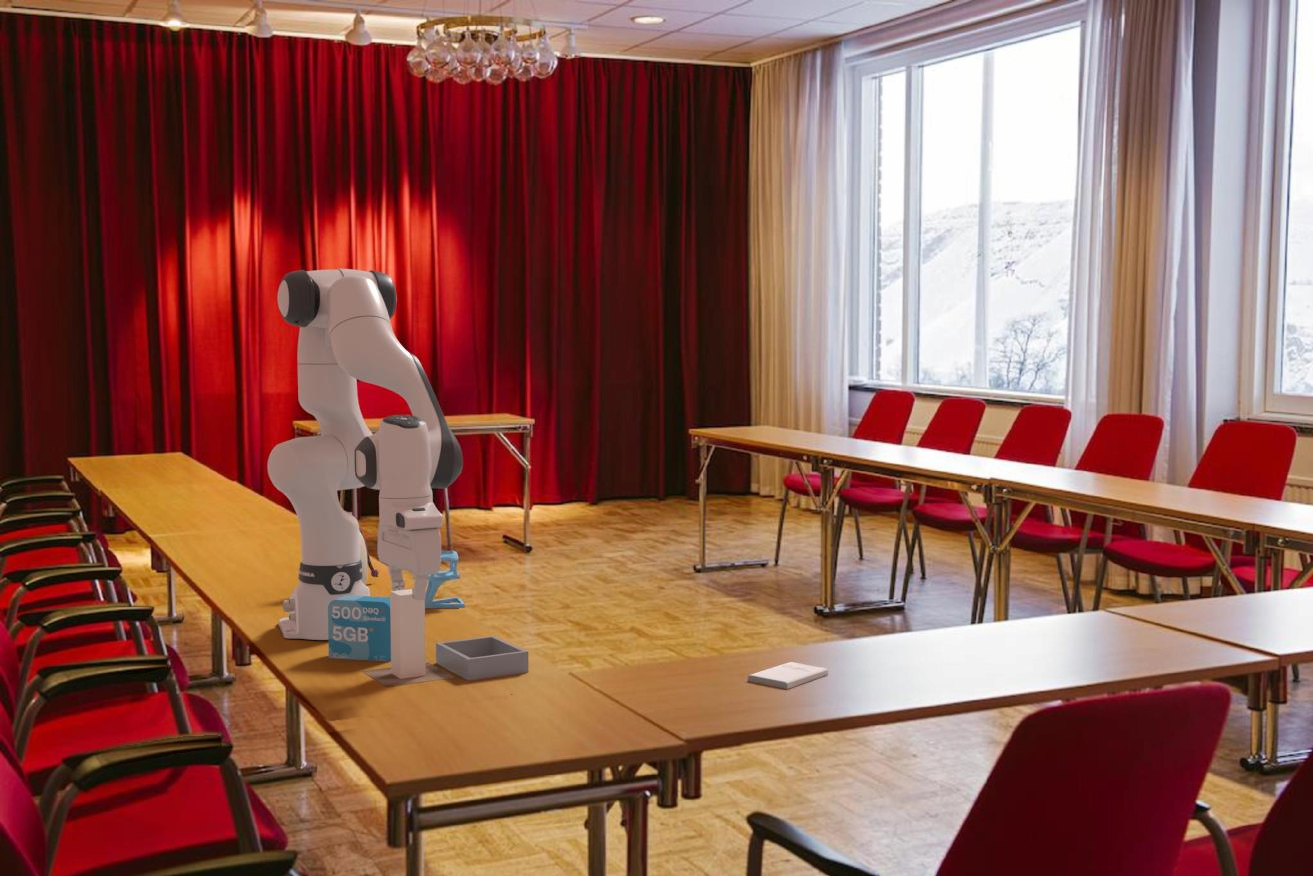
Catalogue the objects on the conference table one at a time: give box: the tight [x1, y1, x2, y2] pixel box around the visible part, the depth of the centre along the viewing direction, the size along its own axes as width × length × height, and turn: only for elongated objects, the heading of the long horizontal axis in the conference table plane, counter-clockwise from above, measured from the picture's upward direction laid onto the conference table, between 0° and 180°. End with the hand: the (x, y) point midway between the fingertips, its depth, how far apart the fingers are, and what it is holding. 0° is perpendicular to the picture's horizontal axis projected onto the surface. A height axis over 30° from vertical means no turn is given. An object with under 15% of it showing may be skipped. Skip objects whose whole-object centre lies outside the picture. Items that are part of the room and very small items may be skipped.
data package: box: [327, 595, 391, 662], centre depth 240 cm, size 12×4×12 cm, turn 77°
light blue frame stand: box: [425, 549, 466, 609], centre depth 292 cm, size 8×8×12 cm
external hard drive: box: [747, 661, 829, 690], centre depth 232 cm, size 2×8×12 cm
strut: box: [389, 588, 426, 679], centre depth 227 cm, size 4×4×14 cm
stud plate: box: [362, 662, 456, 688], centre depth 228 cm, size 12×12×4 cm
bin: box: [435, 635, 529, 682], centre depth 232 cm, size 14×11×5 cm
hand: (408, 595), depth 226 cm, fingers open, 8 cm apart
